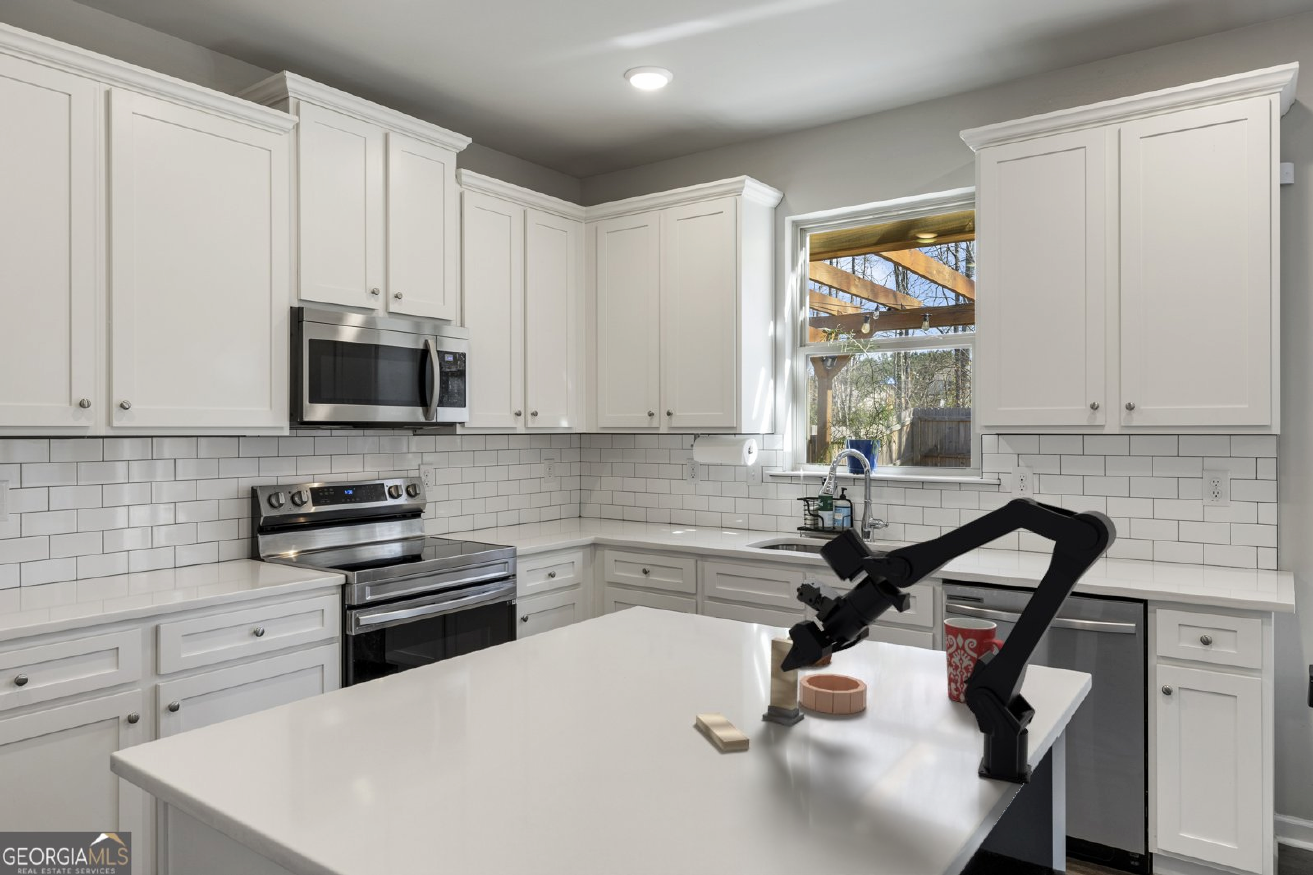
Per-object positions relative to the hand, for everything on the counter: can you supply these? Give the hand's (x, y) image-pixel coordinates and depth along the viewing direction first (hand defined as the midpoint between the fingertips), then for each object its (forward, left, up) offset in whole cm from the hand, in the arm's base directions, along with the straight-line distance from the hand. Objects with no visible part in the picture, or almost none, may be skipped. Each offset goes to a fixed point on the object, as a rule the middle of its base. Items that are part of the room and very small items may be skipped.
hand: (795, 663), depth 136 cm
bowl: (+12, -3, -9) cm, 16 cm away
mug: (+26, -25, -10) cm, 38 cm away
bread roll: (+38, +9, -10) cm, 40 cm away
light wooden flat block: (-12, +8, -10) cm, 17 cm away
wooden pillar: (0, +2, -9) cm, 10 cm away
